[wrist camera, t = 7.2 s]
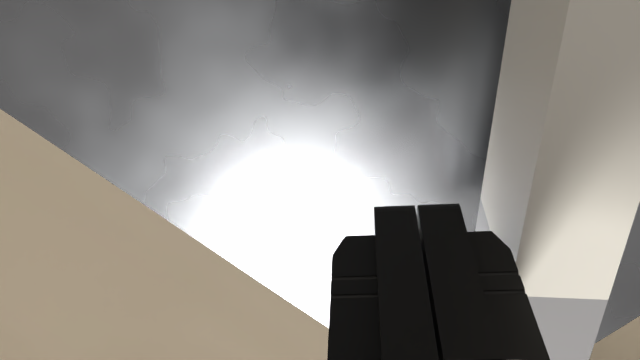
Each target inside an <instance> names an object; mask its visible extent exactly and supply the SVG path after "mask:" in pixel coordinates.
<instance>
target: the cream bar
mask: <svg viewBox="0 0 640 360" xmlns="http://www.w3.org/2000/svg"><path fill="white" fill-rule="evenodd" d="M639 202H640V0H511V6H510V12H509V19H508V25H507V32H506V38H505V44H504V51H503V57H502V63H501V70H500V76H499V82H498V89H497V95H496V101H495V108H494V114H493V121H492V127H491V133H490V140H489V146H488V152H487V159H486V165H485V171H484V178H483V184H482V191H481V197H480V203H479V210H478V216H477V222H476V229H475V231H492V232H493V233H494V234H495V235H496V236H497V237H498V238H499V239H501V240H502V241H503V242H504V243H505V244H506V245H507V246H508V247H509V248H510V249H511V252H512V254H513V257H514V260H515V263H516V266H517V268H518V274H519V275H520V277H521V279H522V282H523V285H524V288H525V294H527V296H528V299H529V302H530V305H531V307H532V310H533V313H534V316H535V319H536V321H537V324H538V327H539V330H540V333H541V335H542V338H543V341H544V344H545V346H546V349H547V352H548V355H549V358H550V360H589V359H590V356H591V352H592V349H593V346H594V343H595V340H596V337H597V334H598V330H599V327H600V324H601V321H602V318H603V315H604V312H605V308H606V305H607V302H608V299H609V296H610V293H611V290H612V287H613V283H614V280H615V277H616V274H617V271H618V268H619V265H620V261H621V258H622V255H623V252H624V249H625V246H626V243H627V239H628V236H629V233H630V230H631V227H632V224H633V221H634V217H635V214H636V211H637V208H638V205H639Z"/></svg>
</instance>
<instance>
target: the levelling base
mask: <svg viewBox="0 0 640 360" xmlns="http://www.w3.org/2000/svg"><path fill="white" fill-rule="evenodd" d="M510 6H511V0H0V109H2V110H3V111H5V112H6V113H8V114H9V115H11V116H12V117H14V118H15V119H17V120H18V121H20V122H21V123H23V124H24V125H26V126H27V127H29V128H30V129H32V130H33V131H35V132H36V133H38V134H39V135H41V136H42V137H44V138H45V139H47V140H48V141H50V142H51V143H52V144H54V145H55V146H57V147H58V148H60V149H61V150H63V151H64V152H66V153H67V154H69V155H70V156H72V157H73V158H75V159H76V160H78V161H79V162H81V163H82V164H84V165H85V166H87V167H88V168H90V169H91V170H93V171H94V172H96V173H97V174H99V175H100V176H102V177H103V178H105V179H106V180H108V181H109V182H111V183H112V184H114V185H115V186H117V187H118V188H120V189H121V190H123V191H124V192H126V193H127V194H129V195H130V196H132V197H133V198H135V199H136V200H138V201H139V202H141V203H142V204H144V205H145V206H147V207H148V208H150V209H151V210H153V211H154V212H156V213H157V214H159V215H160V216H162V217H163V218H165V219H166V220H168V221H169V222H171V223H172V224H174V225H175V226H177V227H178V228H180V229H181V230H183V231H184V232H186V233H187V234H189V235H190V236H192V237H193V238H195V239H196V240H198V241H199V242H201V243H202V244H204V245H205V246H207V247H208V248H210V249H211V250H213V251H214V252H216V253H217V254H219V255H220V256H222V257H223V258H225V259H226V260H228V261H229V262H231V263H232V264H234V265H235V266H237V267H238V268H240V269H241V270H242V271H244V272H245V273H247V274H248V275H250V276H251V277H253V278H254V279H256V280H257V281H259V282H260V283H262V284H263V285H265V286H266V287H268V288H269V289H271V290H272V291H274V292H275V293H277V294H278V295H280V296H281V297H283V298H284V299H286V300H287V301H289V302H290V303H292V304H293V305H295V306H296V307H298V308H299V309H301V310H302V311H304V312H305V313H307V314H308V315H310V316H311V317H313V318H314V319H316V320H317V321H319V322H320V323H322V324H323V325H325V326H326V327H328V328H329V316H330V299H331V295H330V294H331V272H332V255H333V253H334V252H335V250H336V249H337V247H338V246H339V244H340V243H341V241H342V240H343V238H344V237H345V236H361V235H375V231H374V207H381V206H408V205H414V206H415V210H416V208H417V205H431V204H457V203H459V205H460V207H461V211H462V214H463V218H464V222H465V225H466V229H467V232H474V231H475V229H476V222H477V216H478V210H479V203H480V197H481V191H482V184H483V178H484V171H485V165H486V159H487V152H488V146H489V140H490V133H491V127H492V121H493V114H494V108H495V101H496V95H497V89H498V82H499V76H500V70H501V63H502V57H503V51H504V44H505V38H506V32H507V25H508V19H509V12H510ZM639 316H640V202H639V205H638V208H637V211H636V214H635V217H634V221H633V224H632V227H631V230H630V233H629V236H628V239H627V243H626V246H625V249H624V252H623V255H622V258H621V261H620V265H619V268H618V271H617V274H616V277H615V280H614V283H613V287H612V290H611V293H610V296H609V299H608V302H607V305H606V308H605V312H604V315H603V318H602V321H601V324H600V327H599V330H598V334H597V337H596V340H595V343H596V342H598V341H600V340H601V339H603V338H605V337H606V336H608V335H609V334H611V333H613V332H614V331H616V330H618V329H619V328H621V327H622V326H624V325H626V324H627V323H629V322H630V321H632V320H634V319H635V318H637V317H639ZM595 343H594V344H595Z"/></svg>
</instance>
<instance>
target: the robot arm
mask: <svg viewBox="0 0 640 360" xmlns="http://www.w3.org/2000/svg"><path fill="white" fill-rule="evenodd" d="M374 231H375V235H361V236H345V237H344V238H343V240H342V241H341V243H340V244H339V246H338V247H337V249H336V250H335V252H334V253H333V255H332V272H331V294H330V295H331V299H330V316H329V338H328V360H550V358H549V355H548V352H547V349H546V346H545V344H544V341H543V338H542V335H541V333H540V330H539V327H538V324H537V321H536V319H535V316H534V313H533V310H532V307H531V305H530V302H529V299H528V296H527V294H525V288H524V285H523V282H522V279H521V277H520V275H519V274H518V268H517V266H516V263H515V260H514V257H513V254H512V252H511V249H510V248H509V247H508V246H507V245H506V244H505V243H504V242H503V241H502V240H501V239H499V238H498V237H497V236H496V235H495V234H494V233H493V232H492V231H474V232H467V229H466V225H465V222H464V218H463V214H462V211H461V207H460V205H459V203H457V204H431V205H417V208H416V210H415V206H414V205H408V206H381V207H374Z"/></svg>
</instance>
